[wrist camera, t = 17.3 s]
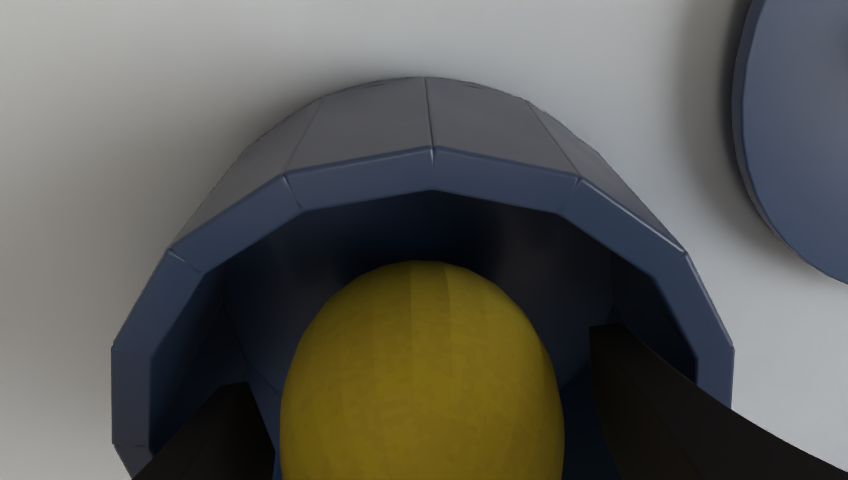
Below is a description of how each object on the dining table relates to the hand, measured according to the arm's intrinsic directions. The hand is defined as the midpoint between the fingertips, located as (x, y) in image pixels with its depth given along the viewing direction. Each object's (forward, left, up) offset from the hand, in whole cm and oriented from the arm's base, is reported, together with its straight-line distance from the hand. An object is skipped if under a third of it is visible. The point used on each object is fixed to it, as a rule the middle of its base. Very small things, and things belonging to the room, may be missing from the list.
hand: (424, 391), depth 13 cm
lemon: (0, 0, -4) cm, 4 cm away
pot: (0, 0, -4) cm, 4 cm away
